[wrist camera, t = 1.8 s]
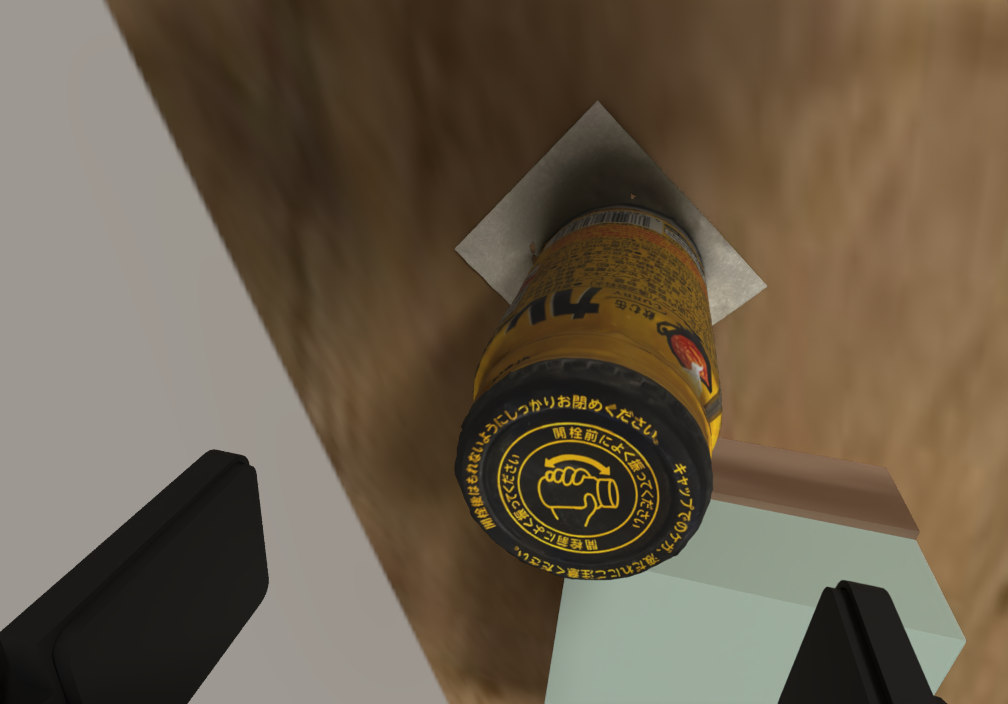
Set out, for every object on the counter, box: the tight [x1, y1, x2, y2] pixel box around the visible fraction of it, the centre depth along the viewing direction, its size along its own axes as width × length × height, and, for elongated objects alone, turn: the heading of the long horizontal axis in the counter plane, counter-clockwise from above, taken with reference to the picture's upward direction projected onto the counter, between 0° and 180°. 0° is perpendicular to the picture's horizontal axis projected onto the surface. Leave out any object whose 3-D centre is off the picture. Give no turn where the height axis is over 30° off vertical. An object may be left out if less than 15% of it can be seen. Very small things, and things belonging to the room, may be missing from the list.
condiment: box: [455, 101, 767, 580], centre depth 18 cm, size 7×8×12 cm
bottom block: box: [711, 438, 920, 540], centre depth 26 cm, size 11×11×4 cm
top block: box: [545, 499, 966, 704], centre depth 22 cm, size 11×11×4 cm
